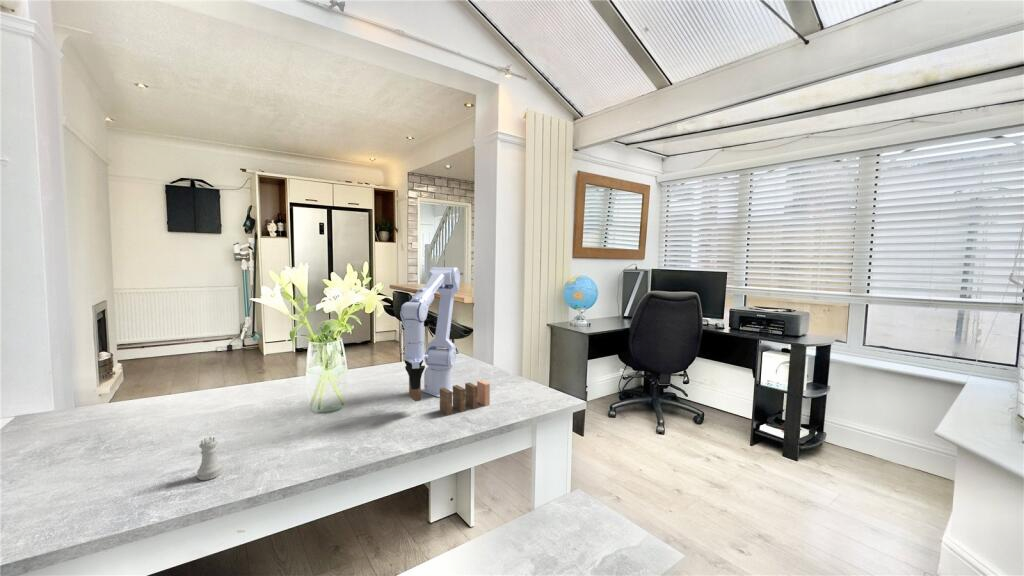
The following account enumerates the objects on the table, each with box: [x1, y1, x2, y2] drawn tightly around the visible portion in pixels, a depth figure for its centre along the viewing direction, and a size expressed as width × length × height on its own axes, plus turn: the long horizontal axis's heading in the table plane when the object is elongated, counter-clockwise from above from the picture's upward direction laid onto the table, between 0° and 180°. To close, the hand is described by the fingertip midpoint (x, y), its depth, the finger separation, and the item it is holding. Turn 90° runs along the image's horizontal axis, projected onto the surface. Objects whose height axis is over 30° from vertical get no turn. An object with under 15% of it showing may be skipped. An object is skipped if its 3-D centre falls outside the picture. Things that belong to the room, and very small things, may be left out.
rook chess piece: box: [196, 436, 223, 481], centre depth 87 cm, size 4×4×8 cm
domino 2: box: [439, 388, 453, 416], centre depth 124 cm, size 2×5×7 cm, turn 36°
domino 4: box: [464, 382, 479, 410], centre depth 130 cm, size 2×5×7 cm, turn 37°
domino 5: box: [476, 379, 491, 407], centre depth 132 cm, size 2×5×7 cm, turn 36°
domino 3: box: [452, 384, 466, 413], centre depth 127 cm, size 2×5×7 cm, turn 37°
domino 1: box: [408, 378, 422, 402], centre depth 124 cm, size 2×5×7 cm, turn 37°
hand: (414, 385), depth 124 cm, fingers closed on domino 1, 5 cm apart
